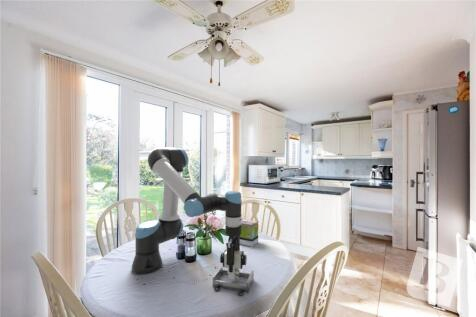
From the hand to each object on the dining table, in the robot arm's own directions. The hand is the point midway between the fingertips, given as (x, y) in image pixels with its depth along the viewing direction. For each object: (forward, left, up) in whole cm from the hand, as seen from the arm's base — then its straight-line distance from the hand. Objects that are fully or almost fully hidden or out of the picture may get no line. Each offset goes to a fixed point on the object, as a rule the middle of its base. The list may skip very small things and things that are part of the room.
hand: (233, 274), depth 101 cm
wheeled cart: (0, -1, -4) cm, 4 cm away
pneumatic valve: (0, 0, -1) cm, 1 cm away
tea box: (-7, +50, -4) cm, 50 cm away
